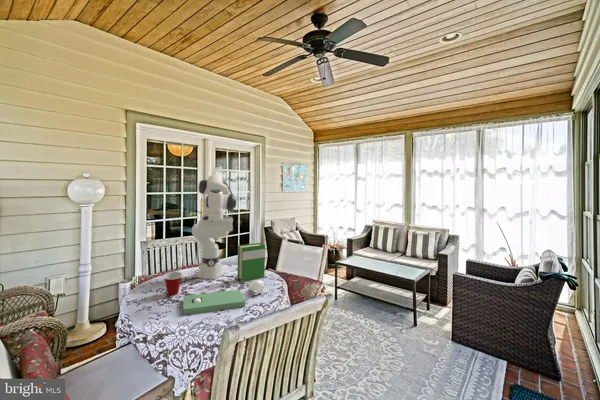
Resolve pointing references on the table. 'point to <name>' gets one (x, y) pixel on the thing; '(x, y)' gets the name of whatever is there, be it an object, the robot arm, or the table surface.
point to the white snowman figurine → (257, 287)
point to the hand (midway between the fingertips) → (215, 239)
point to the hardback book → (251, 261)
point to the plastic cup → (172, 282)
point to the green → (213, 301)
